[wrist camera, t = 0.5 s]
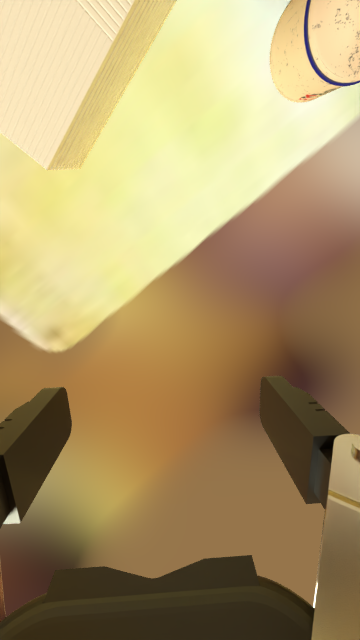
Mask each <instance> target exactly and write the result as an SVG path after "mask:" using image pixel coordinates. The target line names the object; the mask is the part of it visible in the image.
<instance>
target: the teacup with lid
mask: <svg viewBox="0 0 360 640" xmlns="http://www.w3.org/2000/svg"><path fill="white" fill-rule="evenodd" d="M270 70H271V75H272V79H273V82H274V84H275V86H276V88H277V90H278V91H279V92H280V94H281V95H282V96H284V97H285V98H286V99H288V100H290V101H293V102H307V101H311V100H313V99H316V98H318V97H320V96H322V95H325V94H327V93H329V92H331V91H334V90H336V89H338V88H340V87H343V86H350V85H354V84H357V83H359V82H360V0H292V1H291V2H290V4H289V5H288V6H287V8H286V9H285V11H284V12H283V14H282V16H281V17H280V20H279V22H278V24H277V26H276V29H275V32H274V35H273V38H272V43H271V49H270Z"/></svg>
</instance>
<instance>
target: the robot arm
mask: <svg viewBox="0 0 360 640" xmlns="http://www.w3.org/2000/svg"><path fill="white" fill-rule="evenodd" d="M260 390H261V391H260V419H261V423H262V426H263V428H264V429H265V431H266V433H267V435H268V437H269V438H270V440H271V442H272V443H273V445H274V447H275V449H276V451H277V453H278V455H279V456H280V458H281V460H282V462H283V463H284V465H285V467H286V469H287V471H288V472H289V474H290V476H291V478H292V479H293V481H294V483H295V485H296V487H297V488H298V490H299V492H300V494H301V495H302V497H303V499H304V501H305V503H306V504H312V503H321V504H322V506H323V507H324V509H325V514H324V522H323V530H322V538H321V547H320V555H319V563H318V571H317V579H316V588H315V596H314V604H313V607H312V606H311V605H310V604H309V603H308V602H307V601H305V600H304V599H303V598H301V597H300V596H299V595H297V594H296V593H294V592H293V591H291V590H290V589H288V588H286V587H284V586H282V585H281V584H279V583H277V582H274V581H272V580H270V579H267V578H264V577H261V576H257V574H256V570H255V566H254V562H253V559H252V555H247V556H235V557H222V558H209V559H203V560H200V561H198V562H195V563H193V564H190V565H188V566H186V567H183V568H181V569H178V570H176V571H173V572H171V573H169V574H166V575H164V576H162V577H159V578H154V579H151V578H146V577H142V576H138V575H135V574H131V573H127V572H123V571H120V570H116V569H112V568H108V567H91V568H78V569H66V570H55V573H54V575H53V578H52V581H51V583H50V586H49V589H48V592H47V593H46V594H43V595H41V596H39V597H37V598H35V599H33V600H31V601H29V602H28V603H26V604H25V605H23V606H21V607H20V608H19V609H17V610H15V611H14V612H12V613H11V614H10V615H9V616H7V617H6V614H5V607H4V597H3V586H2V575H1V564H0V640H360V435H355V434H350V433H349V432H348V431H347V430H346V429H345V428H344V427H343V426H342V425H341V424H340V423H339V422H338V421H337V420H335V418H334V417H333V416H331V415H330V414H329V413H328V412H327V411H325V409H324V408H323V407H322V406H321V405H320V404H318V403H317V401H316V400H315V399H314V398H313V397H312V396H310V394H308V393H306V392H304V391H303V390H301V389H299V388H297V387H292V386H291V385H290V384H289V383H288V382H287V381H286V380H285V378H284V377H282V376H270V377H262V379H261V388H260ZM71 426H72V421H71V415H70V409H69V403H68V397H67V392H66V389H65V388H64V387H59V388H44V389H42V390H41V391H40V392H39V393H38V394H37V395H36V396H35V397H34V398H33V399H32V400H31V401H30V402H27V403H25V404H24V405H22V406H20V407H19V408H17V409H15V410H14V411H13V412H12V413H11V414H10V415H9V416H8V417H7V418H6V419H5V421H3V422H2V423H0V528H1V526H2V525H3V524H10V523H21V521H22V519H23V517H24V516H25V514H26V512H27V510H28V509H29V507H30V505H31V503H32V502H33V500H34V498H35V496H36V495H37V493H38V491H39V489H40V488H41V486H42V484H43V482H44V481H45V479H46V477H47V475H48V474H49V472H50V470H51V468H52V466H53V465H54V463H55V461H56V460H57V458H58V456H59V454H60V452H61V451H62V449H63V447H64V445H65V444H66V442H67V440H68V438H69V436H70V433H71Z"/></svg>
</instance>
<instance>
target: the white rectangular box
mask: <svg viewBox="0 0 360 640" xmlns="http://www.w3.org/2000/svg"><path fill="white" fill-rule="evenodd" d="M176 1H177V0H0V133H1V134H3V135H4V136H5V137H6V138H8V139H9V140H10V141H11V142H13V143H14V144H15V145H16V146H18V147H19V148H20V149H21V150H23V151H24V152H25V153H26V154H27V155H29V156H30V157H31V158H32V159H34V160H35V161H36V162H37V163H39V164H40V165H41V166H42V167H44V168H45V169H46V170H54V169H55V170H58V169H59V170H61V169H80V168H81V166H82V165H83V163H84V161H85V159H86V158H87V156H88V154H89V152H90V151H91V149H92V147H93V145H94V144H95V142H96V140H97V138H98V137H99V135H100V133H101V131H102V130H103V128H104V126H105V125H106V123H107V121H108V119H109V118H110V116H111V114H112V112H113V111H114V109H115V107H116V105H117V104H118V102H119V100H120V98H121V97H122V95H123V93H124V91H125V90H126V88H127V86H128V84H129V83H130V81H131V79H132V78H133V76H134V74H135V72H136V71H137V69H138V67H139V65H140V64H141V62H142V60H143V58H144V57H145V55H146V53H147V51H148V50H149V48H150V46H151V44H152V43H153V41H154V39H155V38H156V36H157V34H158V32H159V31H160V29H161V27H162V25H163V24H164V22H165V20H166V18H167V17H168V15H169V13H170V11H171V10H172V8H173V6H174V4H175V3H176Z"/></svg>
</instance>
